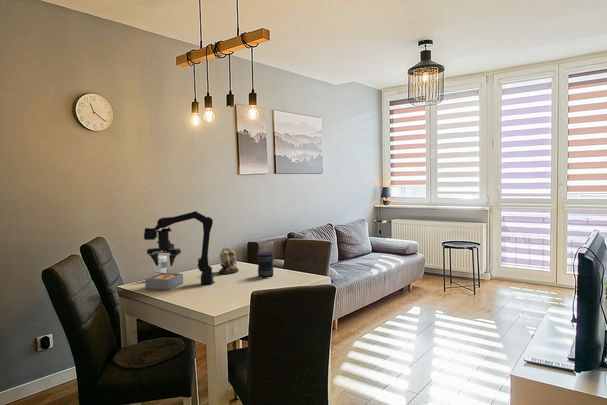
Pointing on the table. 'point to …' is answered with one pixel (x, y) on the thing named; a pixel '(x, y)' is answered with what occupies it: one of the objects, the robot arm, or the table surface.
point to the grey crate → (164, 282)
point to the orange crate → (165, 277)
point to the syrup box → (161, 265)
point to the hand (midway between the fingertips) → (164, 266)
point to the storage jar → (265, 264)
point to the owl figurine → (228, 261)
